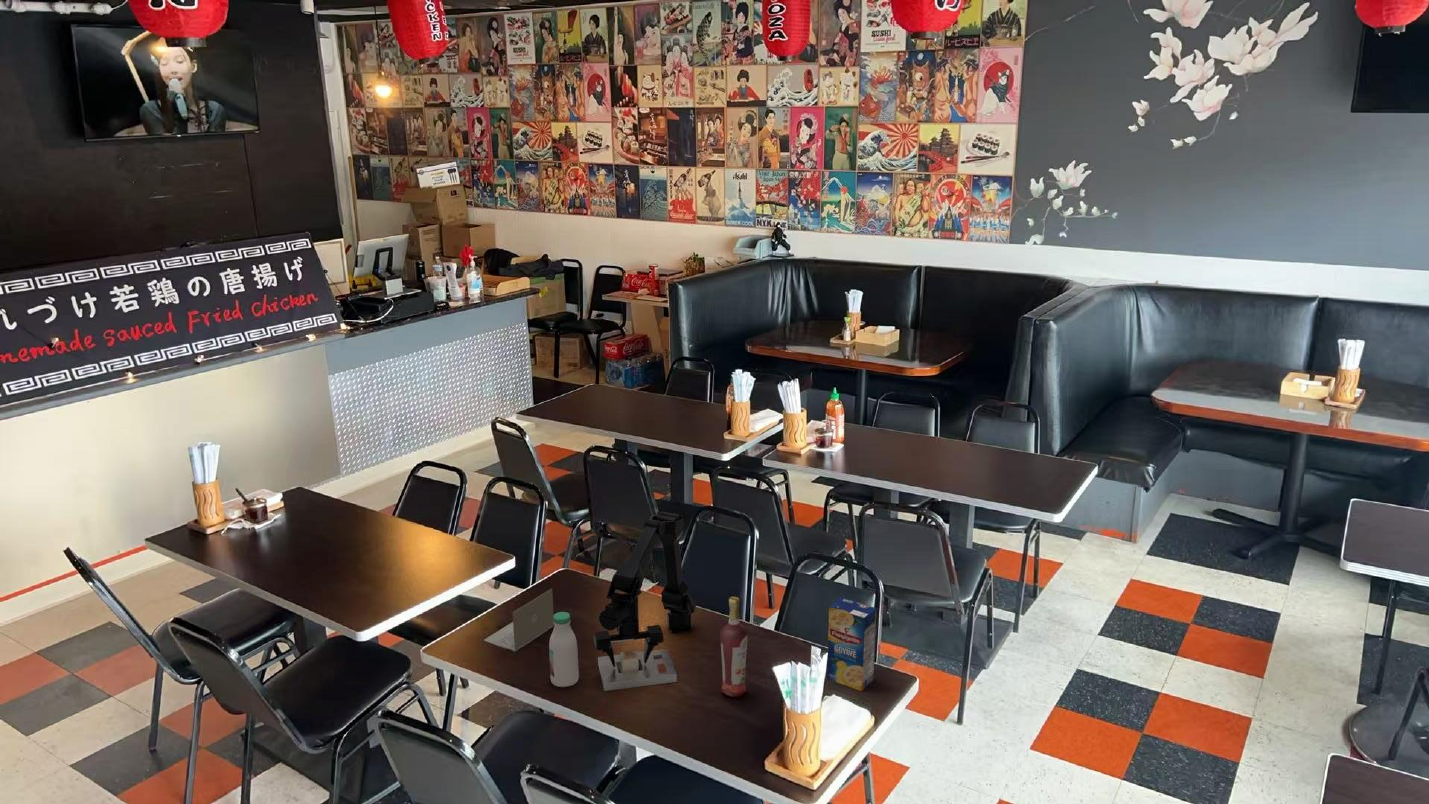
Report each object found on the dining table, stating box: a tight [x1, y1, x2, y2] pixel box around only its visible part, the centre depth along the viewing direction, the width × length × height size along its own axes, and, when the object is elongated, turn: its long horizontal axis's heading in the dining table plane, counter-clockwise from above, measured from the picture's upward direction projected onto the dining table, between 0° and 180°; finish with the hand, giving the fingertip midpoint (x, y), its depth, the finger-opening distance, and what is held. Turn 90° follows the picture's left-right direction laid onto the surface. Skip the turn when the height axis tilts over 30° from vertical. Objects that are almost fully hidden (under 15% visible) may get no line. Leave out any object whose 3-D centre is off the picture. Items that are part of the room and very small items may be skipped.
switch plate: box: [597, 648, 678, 692], centre depth 284 cm, size 20×14×3 cm
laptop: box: [483, 588, 555, 652], centre depth 305 cm, size 18×12×13 cm
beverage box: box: [826, 597, 877, 692], centre depth 278 cm, size 7×11×22 cm, turn 54°
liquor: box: [719, 596, 749, 698], centre depth 271 cm, size 7×7×28 cm
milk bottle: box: [548, 611, 580, 688], centre depth 278 cm, size 8×8×20 cm
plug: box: [619, 650, 640, 673], centre depth 283 cm, size 4×4×7 cm
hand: (629, 664), depth 283 cm, fingers open, 8 cm apart
